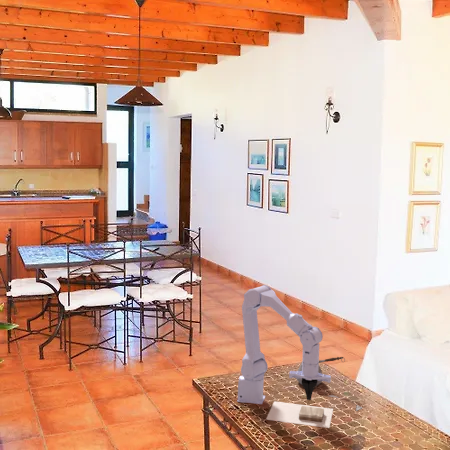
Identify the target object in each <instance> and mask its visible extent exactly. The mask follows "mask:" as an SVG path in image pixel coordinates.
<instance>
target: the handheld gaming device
mask: <svg viewBox="0 0 450 450" xmlns="http://www.w3.org/2000/svg"><path fill="white" fill-rule="evenodd" d="M328 397H331V398H339V397H338V396H336V395H333V394H330V395H328ZM362 409H363V407H362V406H360V405H359V404H355V412H357V411H359V410H362Z"/></svg>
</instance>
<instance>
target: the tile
mask: <svg viewBox="0 0 450 450" xmlns="http://www.w3.org/2000/svg"><path fill="white" fill-rule="evenodd" d="M323 415H324V409H322V408H314V407H306V406H302V407H301V410H300V413H299V419H300V420H307V421H315V422H322V419H323Z"/></svg>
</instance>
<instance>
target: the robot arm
mask: <svg viewBox="0 0 450 450" xmlns="http://www.w3.org/2000/svg"><path fill="white" fill-rule="evenodd" d="M260 307H267V308H271V310H273V311H274V312H276V313H277V314H278V315H280V317H282V318H283V319H284V320H286V326H287V327H288V328H289V329H290V330H291V331H292V332H293V333H294V334H295V335H297V336H298V337H299V340H300V344H301V345H302V359H301V360H302V361H301V363H302V371H298V370H296V371H295V370H290V371H289V373H288V377H289V379H296V378H300V379H302V385H301V386H302V387H303V389H304V391H305V395H306V401H311V400H312V396H313V392H314V390H315V388H316V387H317V386H316V384H317V381H322V382H326V383H329V384H330V383H331V381H332V376H331V374H330V375H328V374H324V373H322V374H321V373H318V366H320V363H319V361H320V343H321V342H322V341H323V332H322V331H321V329H320V327H317V326H313V325H312V324H311V323H308V322H307V320H305V319H304V318H303V316H304V315H302V314H299V313H294V312H292V311H291V309H290V308H288V307H287V306H286V305H285V303H284V302H282V300H281V299H280V298H279V297H278V296H277V294H276V292H275V290H273V289H272V288H271V287H270V286H268V285H267V284H263V285H261V286H257V287H254V288H250V289H248V290H246V292H245V293H244V294H243V302H242V306H241V314H242V324H243V333H244V347H245V354H244V356H243V357H242V359H241V361H242V362H241V363H242V364H241V366H240V367H241V368H240V373H241V375H239V378H238V382H237V383H238V384H237V400H236V402H238V403H244V404H246V403H249V404H257V405H263V402H264V401H265V399H266V397H267V396H266V395H264V380H265V379H264V377H265V373H266V372H267V371H268V362H267V360H266V358H265V357H266V356H265V354H264V353H263V352H261V343H260V341H261V340H260V332H259V323H258V322H259V320H258V319H259V318H258V310H259V309H260Z"/></svg>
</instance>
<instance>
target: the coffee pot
mask: <svg viewBox="0 0 450 450" xmlns="http://www.w3.org/2000/svg"><path fill="white" fill-rule="evenodd" d="M339 360H340V361H341V362H343V363H344V362H345V361H346V359H345V358H344V356H337V357H330V358H327V359H326V358H325V359H321V360H320V359H319V364H321V363H327V362H335V361H339ZM343 360H344V361H343ZM297 371H302V362H301V363H300V365H299V367H298V369H297ZM318 373H321V374H323V372H322V369H321V366H320V365H319V366H318ZM295 379H296V381H297V382H298V383H299V384H300V385H301V386H303V385H302V379H300V378H295ZM322 383H323V381H317V384H316V386H315V387H318V386H319V385H320V384H322Z"/></svg>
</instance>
